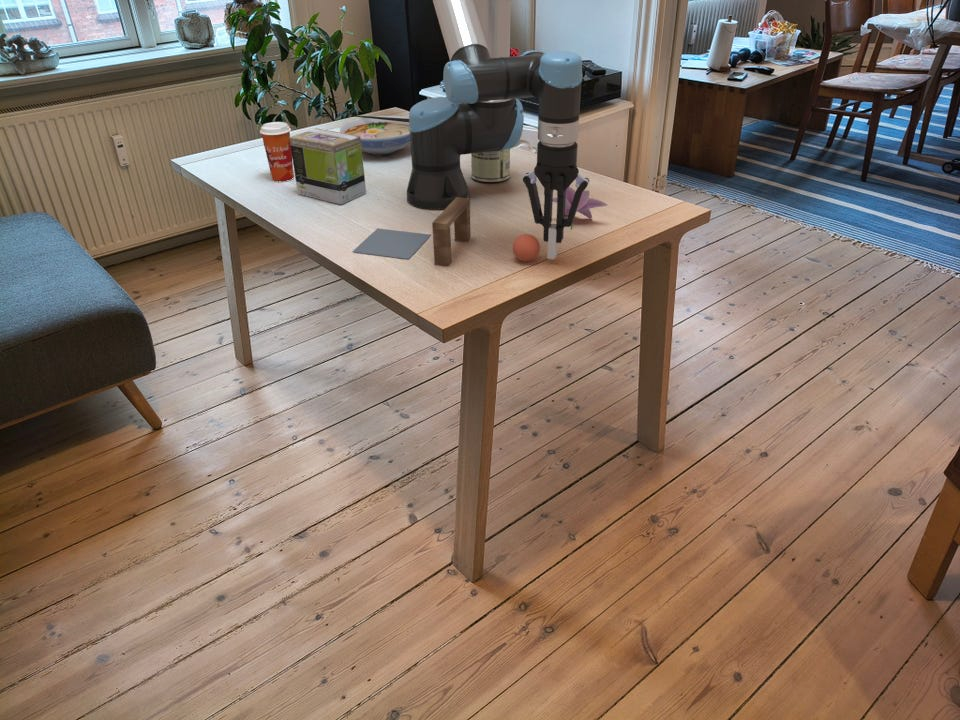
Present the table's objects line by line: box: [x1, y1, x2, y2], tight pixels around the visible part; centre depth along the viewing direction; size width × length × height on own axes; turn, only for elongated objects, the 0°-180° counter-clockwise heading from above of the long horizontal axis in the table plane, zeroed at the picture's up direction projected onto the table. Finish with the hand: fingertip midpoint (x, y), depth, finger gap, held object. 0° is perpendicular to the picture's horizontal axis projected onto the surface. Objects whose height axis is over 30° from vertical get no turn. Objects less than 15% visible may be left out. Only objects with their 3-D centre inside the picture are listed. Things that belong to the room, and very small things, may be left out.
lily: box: [553, 186, 608, 230], centre depth 169 cm, size 12×12×10 cm
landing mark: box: [351, 228, 432, 261], centre depth 163 cm, size 13×13×1 cm
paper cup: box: [259, 121, 295, 183], centre depth 196 cm, size 8×8×14 cm
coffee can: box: [470, 149, 511, 183], centre depth 194 cm, size 10×10×14 cm
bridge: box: [431, 197, 472, 267], centre depth 157 cm, size 3×14×9 cm, turn 162°
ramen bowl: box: [339, 114, 411, 156], centre depth 216 cm, size 25×23×8 cm
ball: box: [512, 233, 541, 262], centre depth 154 cm, size 6×6×6 cm
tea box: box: [289, 127, 367, 205], centre depth 185 cm, size 15×10×15 cm, turn 57°
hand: (552, 256), depth 153 cm, fingers closed
